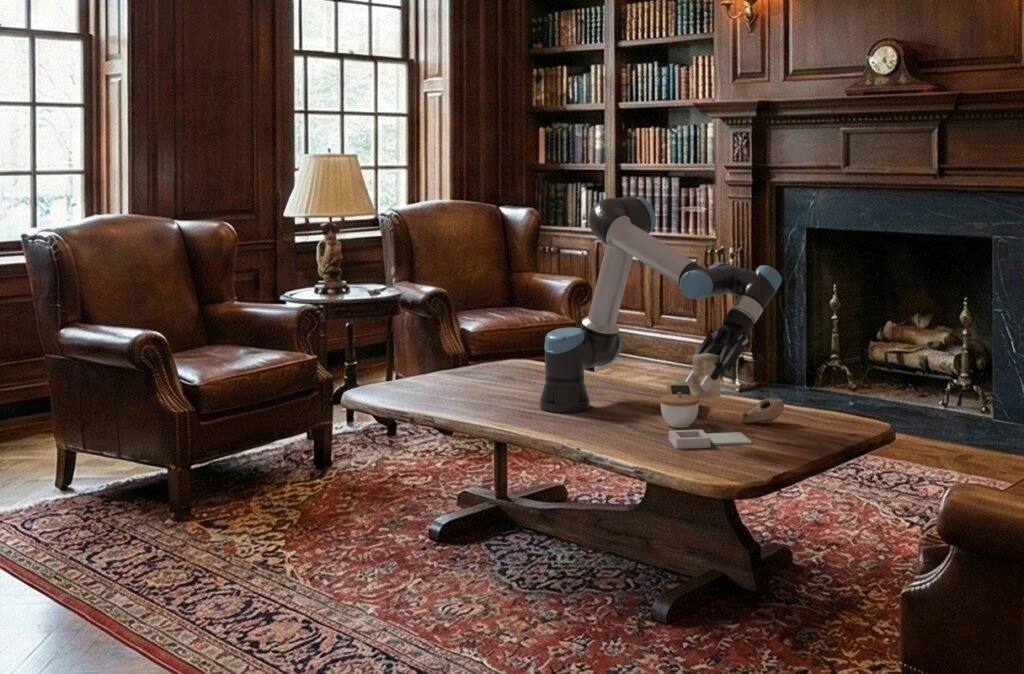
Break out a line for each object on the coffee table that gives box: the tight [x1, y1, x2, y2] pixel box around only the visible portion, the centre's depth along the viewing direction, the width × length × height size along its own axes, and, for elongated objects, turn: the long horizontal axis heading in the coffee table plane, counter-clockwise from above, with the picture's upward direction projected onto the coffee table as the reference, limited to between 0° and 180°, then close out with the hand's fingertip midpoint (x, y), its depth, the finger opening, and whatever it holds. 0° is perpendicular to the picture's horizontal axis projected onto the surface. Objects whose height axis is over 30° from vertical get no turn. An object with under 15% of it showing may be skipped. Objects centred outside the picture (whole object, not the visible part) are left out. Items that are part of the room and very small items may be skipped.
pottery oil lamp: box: [739, 397, 785, 424], centre depth 317 cm, size 9×12×7 cm
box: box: [666, 383, 698, 419], centre depth 332 cm, size 8×22×5 cm, turn 178°
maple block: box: [692, 353, 721, 401], centre depth 295 cm, size 5×5×11 cm
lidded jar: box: [660, 392, 700, 428], centre depth 316 cm, size 11×11×9 cm
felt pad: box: [705, 431, 752, 446], centre depth 300 cm, size 10×10×1 cm
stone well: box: [668, 429, 712, 450], centre depth 297 cm, size 9×9×2 cm
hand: (696, 386), depth 293 cm, fingers closed on maple block, 5 cm apart
